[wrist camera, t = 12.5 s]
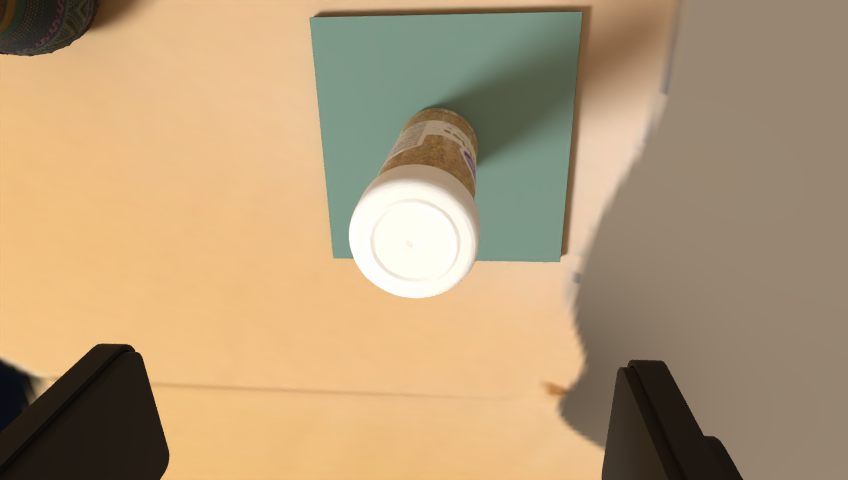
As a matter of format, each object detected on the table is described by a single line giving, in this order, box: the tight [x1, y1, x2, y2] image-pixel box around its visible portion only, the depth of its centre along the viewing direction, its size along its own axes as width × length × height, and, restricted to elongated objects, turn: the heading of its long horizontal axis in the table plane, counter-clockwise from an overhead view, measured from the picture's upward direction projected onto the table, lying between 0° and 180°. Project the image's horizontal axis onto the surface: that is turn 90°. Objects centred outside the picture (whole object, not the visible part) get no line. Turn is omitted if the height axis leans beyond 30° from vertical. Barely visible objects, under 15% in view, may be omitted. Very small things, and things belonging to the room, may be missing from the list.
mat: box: [310, 11, 582, 262], centre depth 31 cm, size 14×14×1 cm
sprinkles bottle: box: [349, 108, 480, 298], centre depth 24 cm, size 5×5×14 cm
